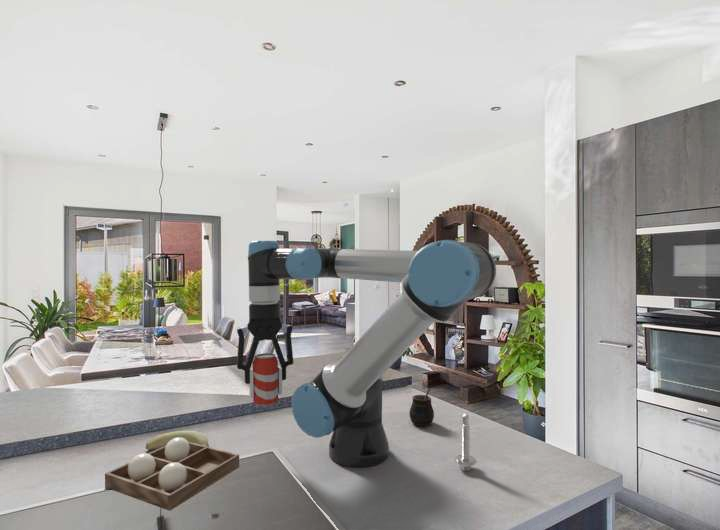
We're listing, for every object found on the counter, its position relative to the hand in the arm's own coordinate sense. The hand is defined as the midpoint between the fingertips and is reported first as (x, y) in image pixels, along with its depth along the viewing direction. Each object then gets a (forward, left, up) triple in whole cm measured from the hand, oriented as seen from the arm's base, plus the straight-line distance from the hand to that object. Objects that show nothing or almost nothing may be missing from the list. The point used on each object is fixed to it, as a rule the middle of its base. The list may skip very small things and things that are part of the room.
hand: (265, 394), depth 110 cm
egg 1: (+16, +23, -15) cm, 32 cm away
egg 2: (+16, +13, -15) cm, 26 cm away
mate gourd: (-29, -37, -16) cm, 49 cm away
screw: (-47, -15, -15) cm, 51 cm away
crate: (+11, +18, -15) cm, 26 cm away
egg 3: (+7, +23, -15) cm, 28 cm away
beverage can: (0, 0, -2) cm, 2 cm away
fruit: (+24, +7, -16) cm, 29 cm away
